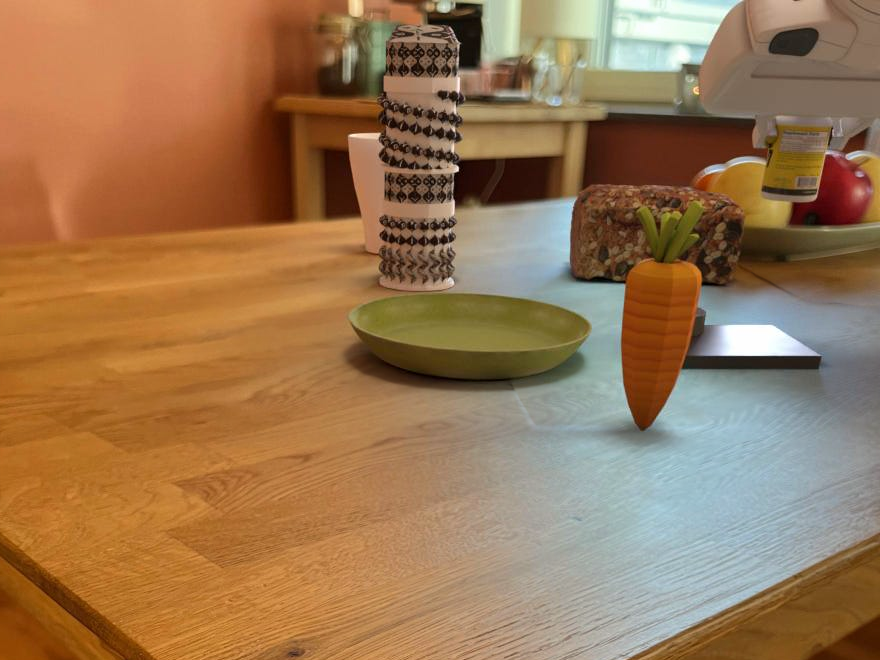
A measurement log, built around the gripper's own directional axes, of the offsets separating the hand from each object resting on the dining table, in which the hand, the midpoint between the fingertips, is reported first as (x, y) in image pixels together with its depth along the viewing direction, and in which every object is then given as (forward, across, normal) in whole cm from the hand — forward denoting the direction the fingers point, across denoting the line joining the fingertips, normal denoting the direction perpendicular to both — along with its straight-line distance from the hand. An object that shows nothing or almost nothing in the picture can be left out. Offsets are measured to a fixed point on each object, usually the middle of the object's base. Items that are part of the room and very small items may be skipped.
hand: (795, 143), depth 87 cm
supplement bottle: (+3, 0, +4) cm, 5 cm away
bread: (+33, +4, -10) cm, 35 cm away
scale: (+8, +5, +16) cm, 18 cm away
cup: (+43, +34, -19) cm, 59 cm away
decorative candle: (+28, +31, -5) cm, 43 cm away
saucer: (+7, +28, +17) cm, 33 cm away
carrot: (-7, +17, +31) cm, 36 cm away
